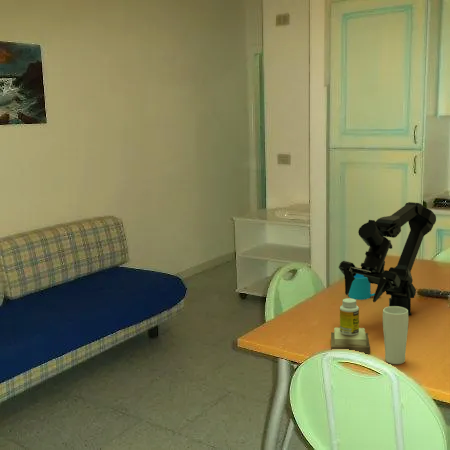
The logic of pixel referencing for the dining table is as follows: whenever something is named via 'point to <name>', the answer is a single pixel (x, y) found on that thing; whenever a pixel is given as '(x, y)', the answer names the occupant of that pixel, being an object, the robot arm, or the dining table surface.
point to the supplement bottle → (349, 317)
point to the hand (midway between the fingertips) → (359, 298)
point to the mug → (360, 288)
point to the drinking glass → (395, 333)
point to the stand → (350, 341)
